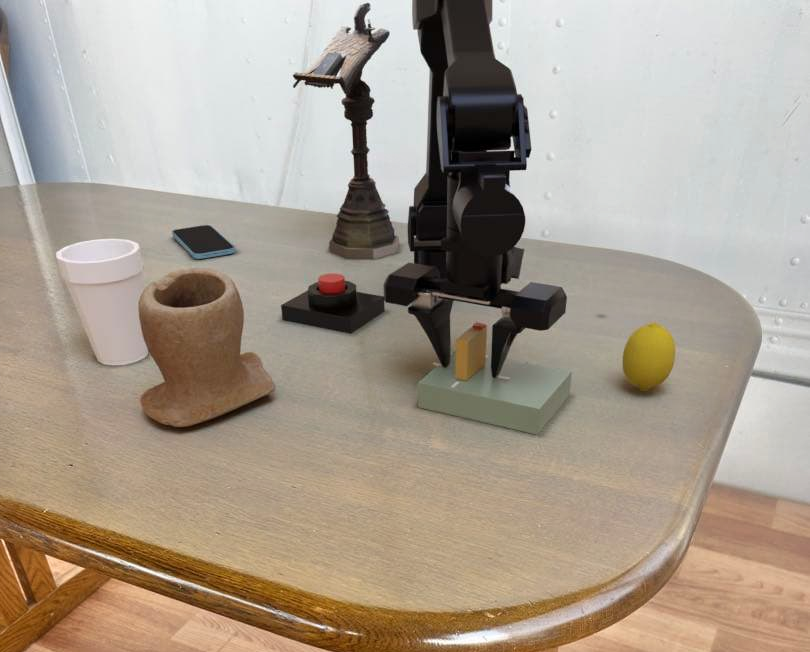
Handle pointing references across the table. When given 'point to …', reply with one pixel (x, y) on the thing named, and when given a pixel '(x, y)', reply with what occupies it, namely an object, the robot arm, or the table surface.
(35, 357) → the table surface
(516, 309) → the robot arm
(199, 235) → the smartphone
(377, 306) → the release button base
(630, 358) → the lemon
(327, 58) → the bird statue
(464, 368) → the orange flat slab
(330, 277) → the button
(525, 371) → the plate
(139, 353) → the foam cup
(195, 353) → the stone cup
